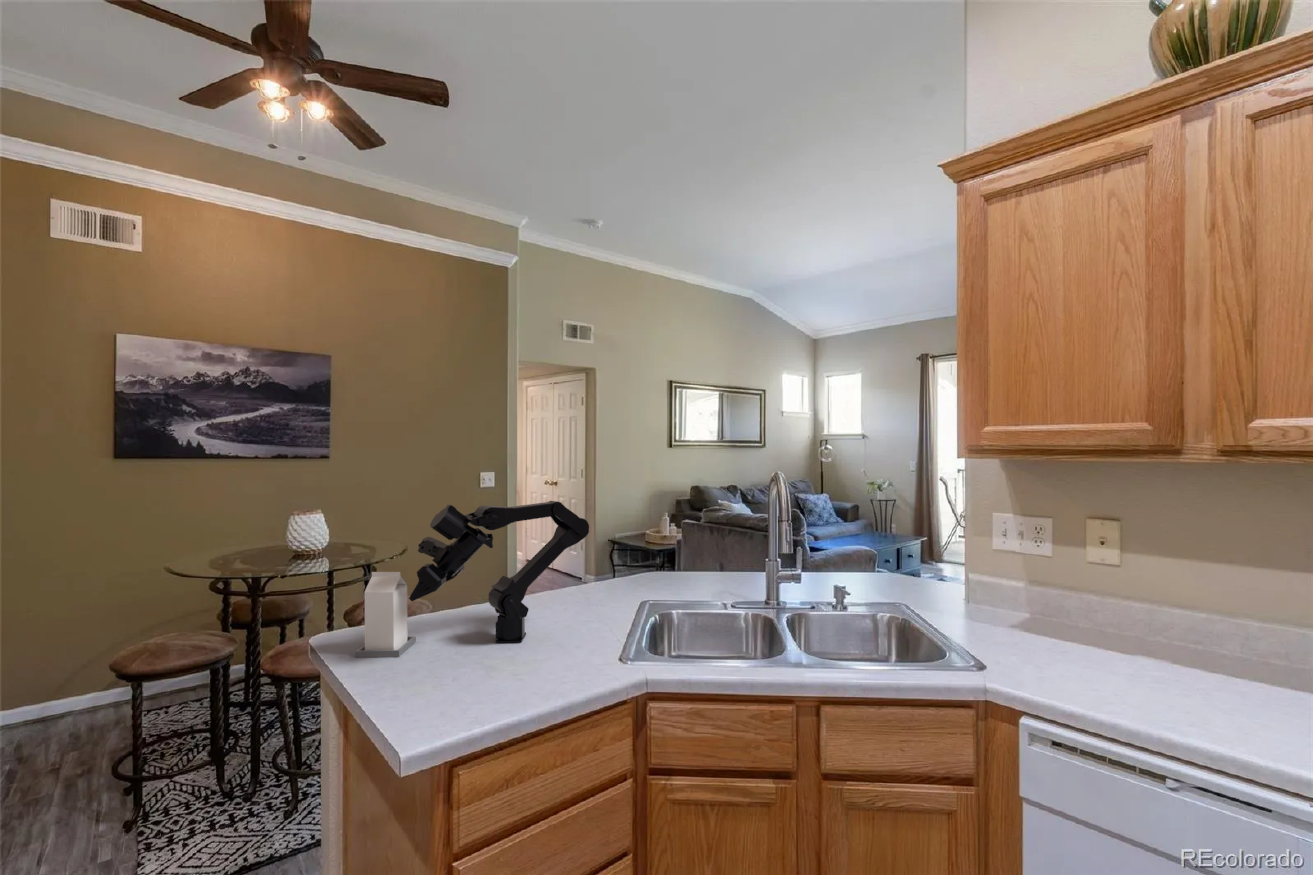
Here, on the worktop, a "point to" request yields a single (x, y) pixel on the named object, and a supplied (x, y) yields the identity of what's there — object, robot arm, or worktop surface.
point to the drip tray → (385, 653)
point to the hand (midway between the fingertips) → (417, 594)
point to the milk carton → (385, 611)
